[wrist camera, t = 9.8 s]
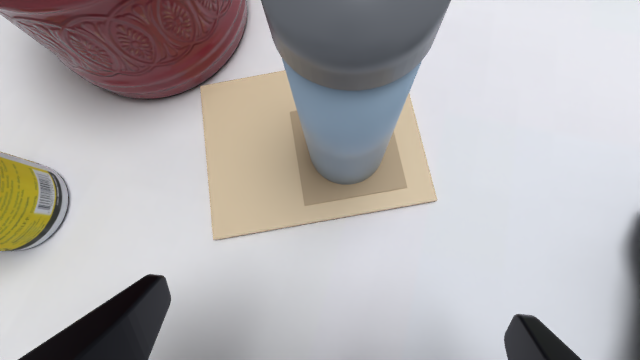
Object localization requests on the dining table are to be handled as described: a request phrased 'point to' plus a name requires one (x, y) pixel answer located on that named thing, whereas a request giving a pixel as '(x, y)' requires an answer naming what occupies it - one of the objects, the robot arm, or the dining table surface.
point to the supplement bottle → (29, 203)
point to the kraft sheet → (293, 163)
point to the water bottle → (351, 73)
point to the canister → (135, 40)
